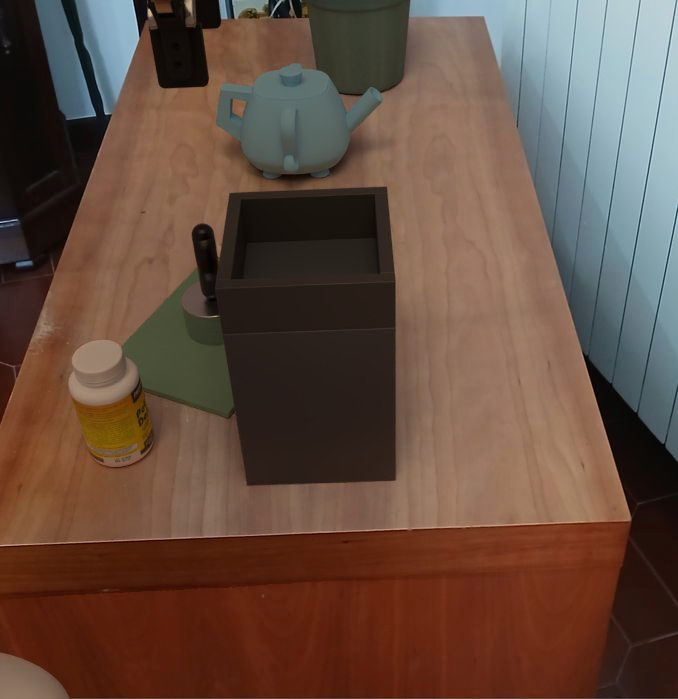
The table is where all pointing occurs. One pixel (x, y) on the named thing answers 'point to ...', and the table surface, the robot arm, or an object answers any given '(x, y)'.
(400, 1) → the flower pot
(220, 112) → the teapot
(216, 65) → the table surface
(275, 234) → the black box
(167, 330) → the green mat
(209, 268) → the meat pounder
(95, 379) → the supplement bottle
